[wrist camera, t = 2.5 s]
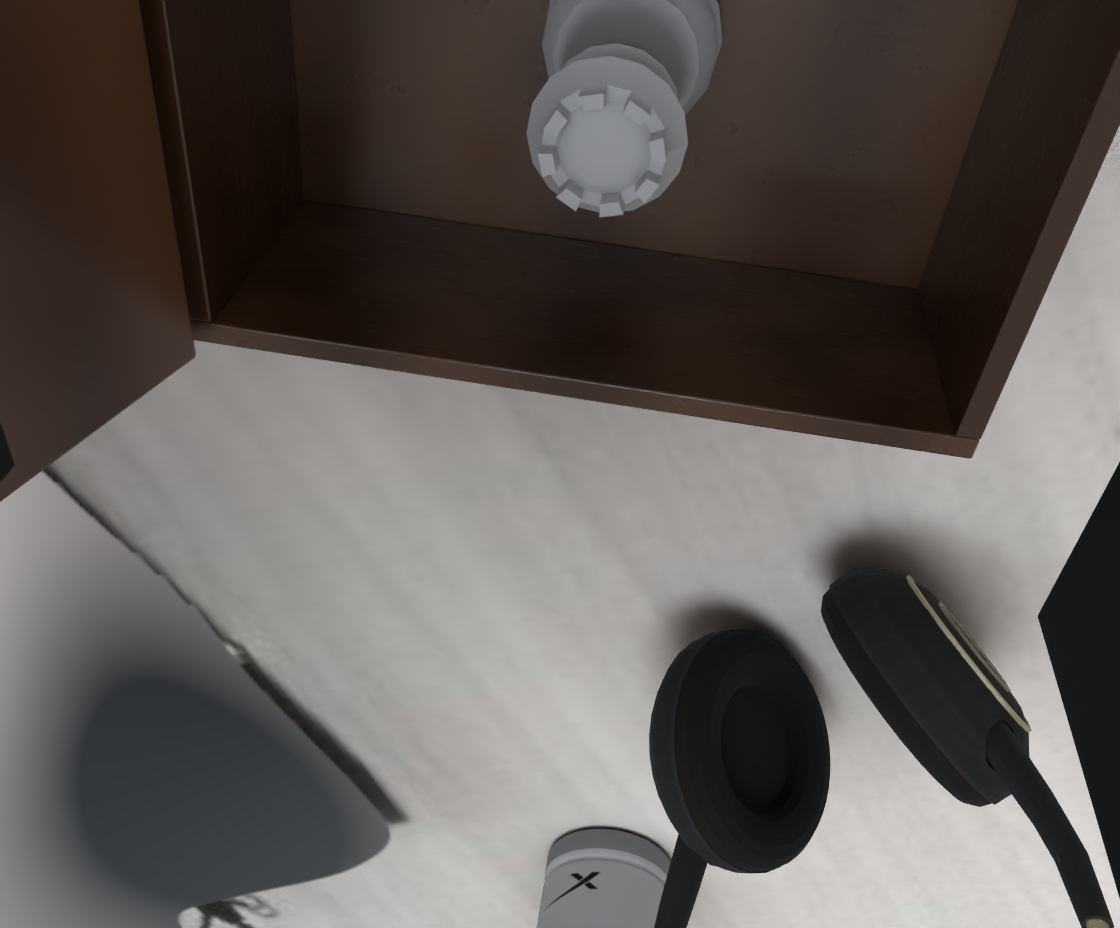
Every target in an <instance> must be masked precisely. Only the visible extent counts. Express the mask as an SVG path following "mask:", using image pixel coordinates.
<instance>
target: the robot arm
mask: <svg viewBox="0 0 1120 928" xmlns="http://www.w3.org/2000/svg"><path fill="white" fill-rule="evenodd" d="M14 466H15V463H14V460H13V457H12V454H11V451H10V449H9V446H8V443H7V440H6V437H5V434H4V431H3V428H2V425H1V422H0V482H1V481H2V480H3V479H4V478H5V476H6V475H7V474H8V473H9V472H10V471H11V469H12V468H13V467H14ZM1038 619H1039V622H1040V626H1041V629H1042V632H1043V636H1044V639H1045V643H1046V646H1047V650H1048V653H1049V656H1050V660H1051V663H1052V667H1053V670H1054V674H1055V677H1056V681H1057V684H1058V687H1059V691H1060V694H1061V698H1062V701H1063V705H1064V708H1065V712H1066V715H1067V718H1068V722H1069V725H1070V729H1071V732H1072V736H1073V739H1074V743H1075V746H1076V749H1077V753H1078V756H1079V760H1080V763H1081V767H1082V770H1083V774H1084V777H1085V780H1086V784H1087V787H1088V791H1089V794H1090V798H1091V801H1092V805H1093V808H1094V811H1095V815H1096V818H1097V822H1098V825H1099V829H1100V832H1101V836H1102V839H1103V842H1104V846H1105V849H1106V853H1107V856H1108V860H1109V863H1110V866H1111V870H1112V873H1113V877H1114V880H1115V884H1116V887H1117V891H1118V894H1119V897H1120V463H1119V465H1118V466H1117V468H1116V470H1115V472H1114V474H1113V476H1112V478H1111V480H1110V481H1109V483H1108V485H1107V487H1106V489H1105V491H1104V493H1103V495H1102V496H1101V498H1100V500H1099V502H1098V504H1097V506H1096V508H1095V510H1094V511H1093V513H1092V515H1091V517H1090V519H1089V521H1088V523H1087V525H1086V526H1085V528H1084V530H1083V532H1082V534H1081V536H1080V538H1079V540H1078V541H1077V543H1076V545H1075V547H1074V549H1073V551H1072V553H1071V555H1070V556H1069V558H1068V560H1067V562H1066V564H1065V566H1064V568H1063V570H1062V571H1061V573H1060V575H1059V577H1058V579H1057V581H1056V583H1055V585H1054V586H1053V588H1052V590H1051V592H1050V594H1049V596H1048V598H1047V600H1046V601H1045V603H1044V605H1043V607H1042V609H1041V611H1040V613H1039V615H1038Z"/></svg>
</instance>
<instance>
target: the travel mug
mask: <svg viewBox="0 0 1120 928" xmlns="http://www.w3.org/2000/svg"><path fill="white" fill-rule="evenodd" d="M670 863H671V862H670V860H669V859H668V857H667V856H666V854H665V853H664V852H663V851H662V850H661V849H660V848H659V847H657V846H656V845H654V844H653V843H651V842H649V841H648V840H646V839H644V838H641V837H639V836H637V835H634V834H631V833H628V832H623V831H619V830H612V829H588V830H581V831H578V832H574V833H571V834H568V835H566V836H564V837H562V838H561V839H560V840H558V841H557V842H556V843H555V844H554V845H553V846H552V848H551V849H550V851H549V855H548V860H547V867H546V873H545V883H544V887H543V892H542V898H541V905H540V911H539V917H538V924H537V928H654V925H655V921H656V917H657V912H658V908H659V903H660V900H661V896H662V892H663V889H664V885H665V881H666V878H667V874H668V870H669V867H670Z"/></svg>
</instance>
